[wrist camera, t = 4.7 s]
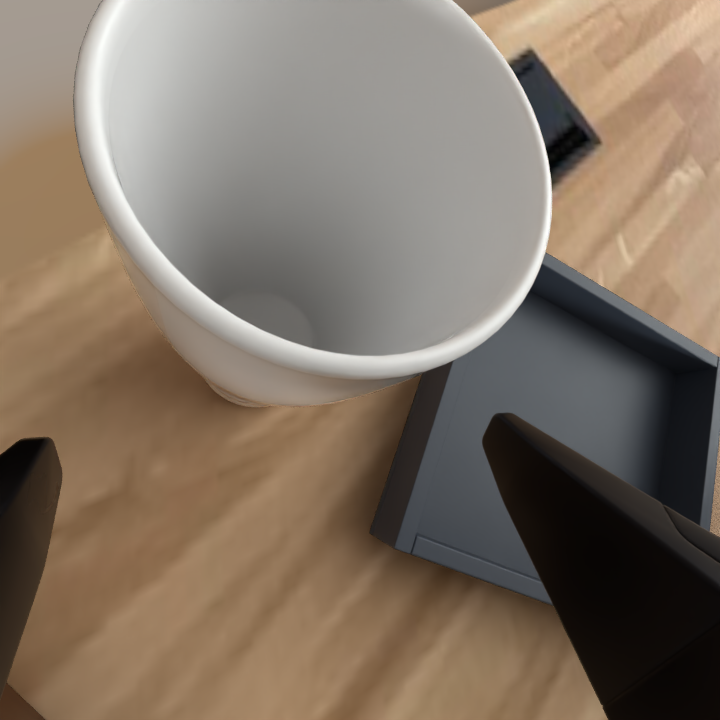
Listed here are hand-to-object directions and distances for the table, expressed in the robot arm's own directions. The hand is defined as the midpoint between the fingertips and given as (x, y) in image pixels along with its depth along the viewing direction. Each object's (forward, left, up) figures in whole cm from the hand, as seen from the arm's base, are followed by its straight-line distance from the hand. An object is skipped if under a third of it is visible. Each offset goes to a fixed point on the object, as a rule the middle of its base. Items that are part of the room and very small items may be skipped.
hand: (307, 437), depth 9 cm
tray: (-15, -6, -11) cm, 20 cm away
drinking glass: (+2, -4, -11) cm, 12 cm away
